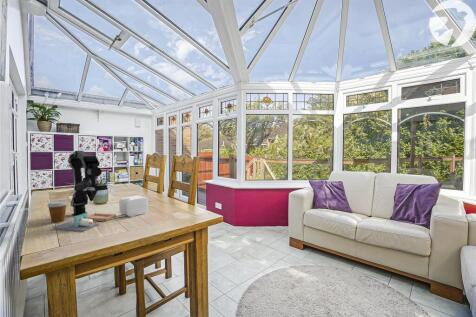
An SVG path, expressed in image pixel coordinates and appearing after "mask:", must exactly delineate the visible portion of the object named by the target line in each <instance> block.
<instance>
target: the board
mask: <svg viewBox="0 0 476 317" xmlns="http://www.w3.org/2000/svg"><path fill="white" fill-rule="evenodd" d="M72 221H73V220H69V221H67V222H65V223H61V224H59V225H56V226H53V227H52V229H53V230H59V231H71V232H82V233H83V232H86V231H88V230H91V229H93V228H95V227H98V226H100V223H99V222H93V224H92V225H91V226H90V227H89V226H78V228H74V225H73V224H72Z"/></svg>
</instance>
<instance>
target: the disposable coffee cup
mask: <svg viewBox="0 0 476 317" xmlns="http://www.w3.org/2000/svg"><path fill="white" fill-rule="evenodd" d="M67 204H68V203H67V200H55V201H50V202H48V204H47V207H48V212H49V215H50V220H51V223H53V224H58V223H62V222H64V221H65V218H66V209H67Z"/></svg>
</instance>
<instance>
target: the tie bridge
mask: <svg viewBox="0 0 476 317" xmlns="http://www.w3.org/2000/svg"><path fill="white" fill-rule="evenodd" d="M88 215H89V214H88V212H87V213H84V214H81V215H74V216H73V219H74V228H78V219H80V218H82V219H88Z"/></svg>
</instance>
